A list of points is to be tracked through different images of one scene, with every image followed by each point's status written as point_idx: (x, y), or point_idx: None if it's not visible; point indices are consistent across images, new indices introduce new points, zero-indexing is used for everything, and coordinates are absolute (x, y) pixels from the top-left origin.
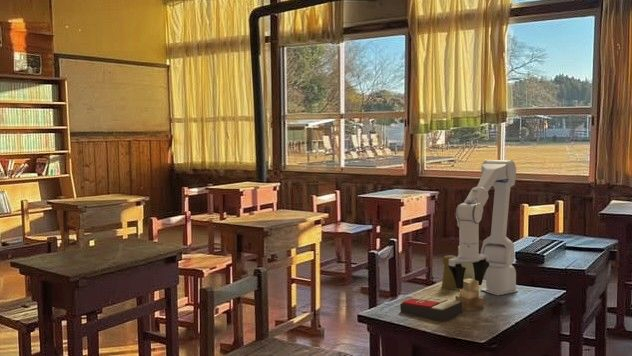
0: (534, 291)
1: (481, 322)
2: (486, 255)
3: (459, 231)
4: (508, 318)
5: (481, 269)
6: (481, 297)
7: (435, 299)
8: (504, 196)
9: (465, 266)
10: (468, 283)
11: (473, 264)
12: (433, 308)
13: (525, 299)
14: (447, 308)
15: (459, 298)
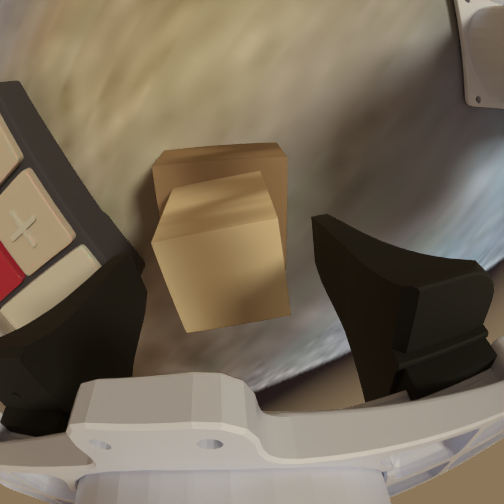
0: None
1: (169, 362)
2: (490, 441)
3: None
4: (280, 357)
5: (359, 365)
6: (283, 257)
7: (14, 237)
8: None
9: None
10: (186, 324)
11: (384, 295)
12: (6, 315)
13: (496, 201)
14: None
15: (159, 208)
